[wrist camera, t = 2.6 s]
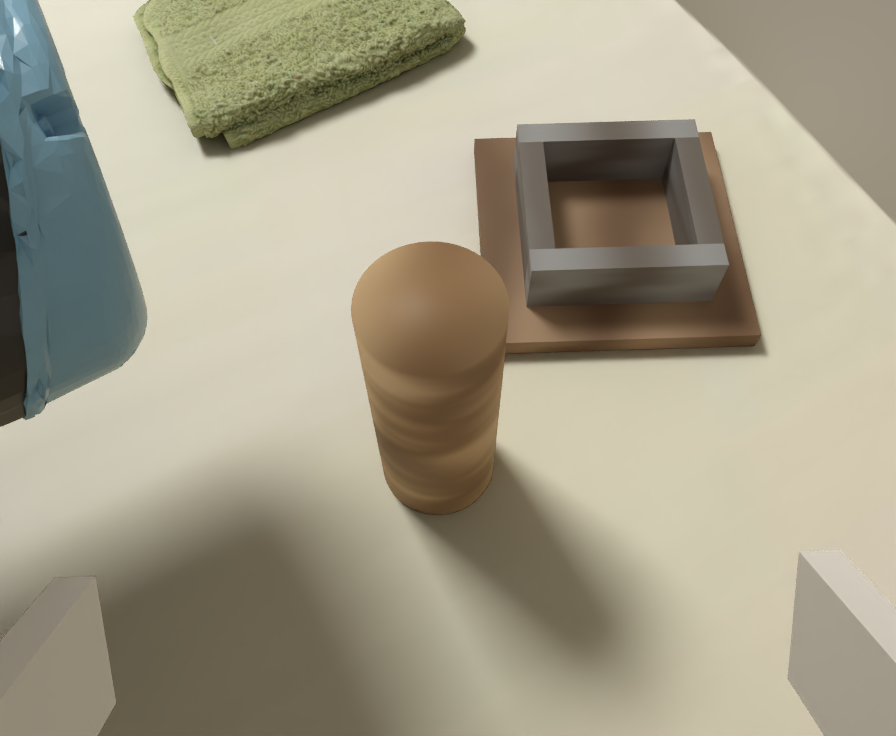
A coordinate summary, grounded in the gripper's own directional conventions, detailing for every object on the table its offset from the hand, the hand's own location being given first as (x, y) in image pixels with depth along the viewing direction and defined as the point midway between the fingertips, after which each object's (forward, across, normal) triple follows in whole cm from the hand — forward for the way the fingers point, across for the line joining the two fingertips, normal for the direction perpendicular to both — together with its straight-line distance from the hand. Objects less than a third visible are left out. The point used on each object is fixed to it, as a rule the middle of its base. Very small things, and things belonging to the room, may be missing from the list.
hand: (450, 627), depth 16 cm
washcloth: (+42, -8, +14) cm, 45 cm away
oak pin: (+22, 0, -5) cm, 22 cm away
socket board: (+30, +9, +3) cm, 31 cm away
